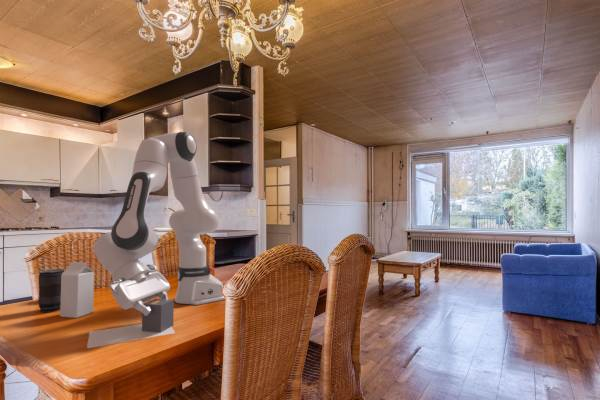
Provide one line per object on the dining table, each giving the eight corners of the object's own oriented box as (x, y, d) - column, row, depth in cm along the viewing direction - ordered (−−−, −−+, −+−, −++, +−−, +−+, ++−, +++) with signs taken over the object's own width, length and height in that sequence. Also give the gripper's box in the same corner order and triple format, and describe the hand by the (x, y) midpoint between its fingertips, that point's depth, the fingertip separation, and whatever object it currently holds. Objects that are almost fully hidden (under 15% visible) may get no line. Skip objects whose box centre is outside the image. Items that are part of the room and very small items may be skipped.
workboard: (167, 324, 109) (167, 319, 110) (175, 338, 97) (175, 332, 97) (89, 336, 98) (89, 331, 98) (86, 354, 86) (86, 348, 86)
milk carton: (76, 318, 116) (78, 264, 117) (59, 317, 117) (61, 263, 118) (93, 312, 123) (94, 261, 124) (77, 311, 124) (78, 260, 125)
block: (155, 324, 105) (155, 297, 106) (173, 325, 104) (173, 298, 104) (141, 331, 99) (142, 303, 99) (160, 332, 98) (161, 304, 98)
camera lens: (47, 307, 130) (48, 268, 130) (68, 306, 130) (69, 268, 131) (32, 313, 122) (33, 272, 122) (55, 312, 122) (56, 272, 123)
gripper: (113, 275, 94) (143, 312, 91) (158, 264, 114) (183, 294, 111) (99, 290, 94) (128, 327, 92) (146, 277, 114) (171, 307, 112)
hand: (159, 309), depth 102 cm, fingers open, 8 cm apart
